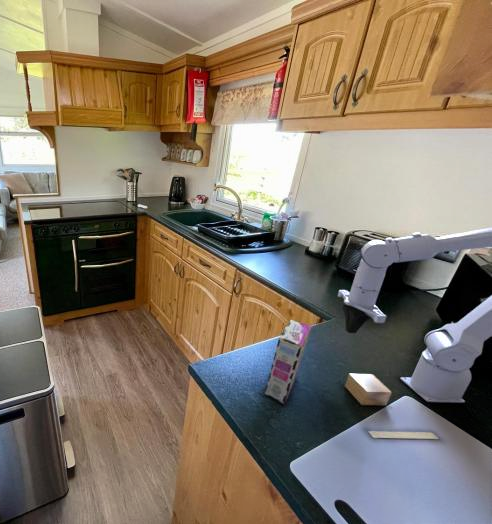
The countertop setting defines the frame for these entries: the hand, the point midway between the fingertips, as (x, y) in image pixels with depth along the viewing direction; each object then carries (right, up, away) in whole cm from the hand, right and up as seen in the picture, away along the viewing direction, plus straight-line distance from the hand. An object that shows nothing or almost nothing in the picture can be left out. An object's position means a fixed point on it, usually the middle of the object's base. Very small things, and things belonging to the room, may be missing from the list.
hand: (350, 331), depth 79 cm
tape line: (-2, -18, -18) cm, 25 cm away
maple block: (-2, -14, -8) cm, 16 cm away
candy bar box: (-22, -13, -6) cm, 26 cm away
